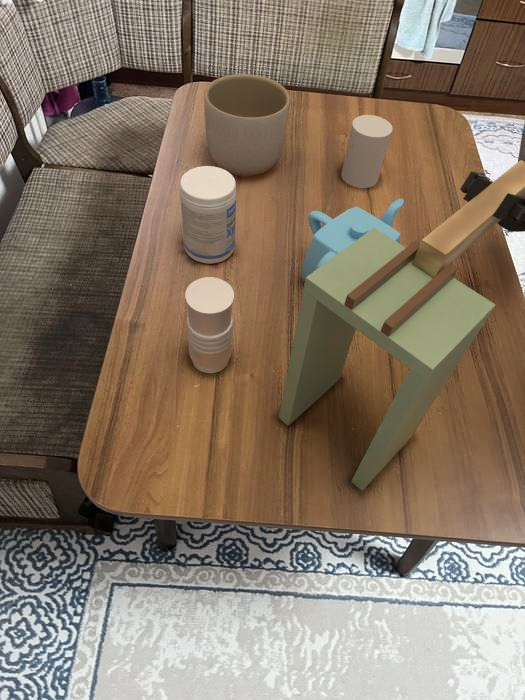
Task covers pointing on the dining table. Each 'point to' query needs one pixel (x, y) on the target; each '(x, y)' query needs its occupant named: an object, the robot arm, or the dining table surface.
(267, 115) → the planter
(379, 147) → the white cylinder
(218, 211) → the supplement tub
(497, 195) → the slide bar
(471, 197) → the robot arm
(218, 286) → the candle
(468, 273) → the dining table surface
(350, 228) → the teapot
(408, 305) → the shelf stand
